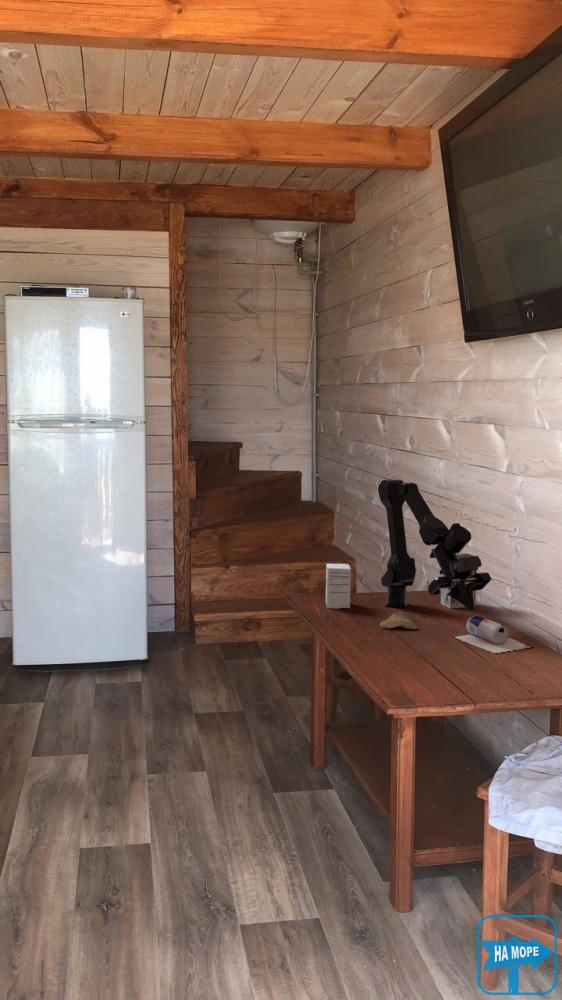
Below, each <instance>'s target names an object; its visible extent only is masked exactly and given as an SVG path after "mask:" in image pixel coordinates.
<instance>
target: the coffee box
mask: <svg viewBox="0 0 562 1000" xmlns="http://www.w3.org/2000/svg"><path fill="white" fill-rule="evenodd" d="M456 555H457V557H458V559H459V560H460V559H462V560H464V559H470V557H473V556H474V555H473V554H470V553H456ZM471 573H472V574H471V575H470V576H468V579H470V578H472V577H473V576H474V575H475V574H476V573H478V570H474V571H471ZM442 576H444V574H442V575H441V577H442ZM448 593H449V589H448V588H442V589H440V605H442V606H443V607H447V608H448V609H460V608H466V607H465V606H464V605H463V604H461V603H460V602H459V601H457V600H456V599H454V598H452V597H451V596H448V595H447V594H448ZM476 597H477V591H473V599H474V608H475V607H476V602H477V601H476V599H477V598H476Z"/></svg>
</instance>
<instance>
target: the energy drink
mask: <svg viewBox="0 0 562 1000" xmlns="http://www.w3.org/2000/svg"><path fill="white" fill-rule="evenodd" d="M465 626H466V630H467V632H468V633H469V634H470V635H472V634H473V635H476V636H478V637H481V638H483V639H485V640H488V641H490V642H492V643H495V644H503V643H505V642H506V641H507V639H508V638H509V636H510V634H509V629H508V627H506V626H505V625H504V624H502V623H499V622H496V621H494V620H491V619H489V618H486V617H483V616H480V615H478V614H472V615H471V616H469V618H468V619H467V620H466V624H465Z"/></svg>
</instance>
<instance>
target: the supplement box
mask: <svg viewBox="0 0 562 1000" xmlns="http://www.w3.org/2000/svg"><path fill="white" fill-rule="evenodd" d="M325 567H326V568H325V569H326V571H325V572H326V573H325V604H326V608H327V609H340V608H349V609H351V590H352V589H351V586H352V585H351V584H352V583H351V581H352V569H351V566H350V564H349V563H326V565H325Z"/></svg>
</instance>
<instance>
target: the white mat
mask: <svg viewBox="0 0 562 1000" xmlns="http://www.w3.org/2000/svg"><path fill="white" fill-rule="evenodd" d="M455 639H458V640H459V641H463V642H465V643H467V644H470V645H472V646H474V647H477V648H480V649H482V650H484V649H485V650H484V651H487V652H489V651H490V653H492V654H494V653H498V654H502V653H501V652H505V653H508V652H507V651H511V652H514V651H513V650H517V651H519V650H518V649H523V647H525V646H523V645H525V644H526V643H525V644H523V643H524V642H522V643H519V642H520V641H519V640H516V639H514V638H511V637H508V639H507V641H506V642H505V643H503V644H495V643H492V642H490V641H488V640H485V639H483V638H481V637H478V636H476V635H473V634H466V635H459V636H455ZM517 641H518V642H517ZM522 644H523V645H522ZM525 648H526V647H525Z"/></svg>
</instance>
